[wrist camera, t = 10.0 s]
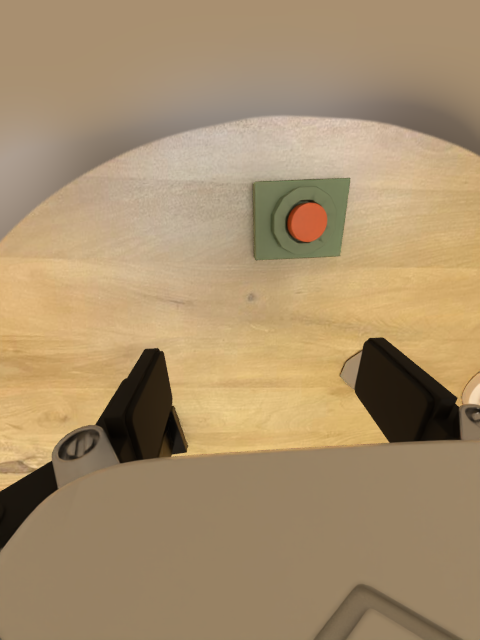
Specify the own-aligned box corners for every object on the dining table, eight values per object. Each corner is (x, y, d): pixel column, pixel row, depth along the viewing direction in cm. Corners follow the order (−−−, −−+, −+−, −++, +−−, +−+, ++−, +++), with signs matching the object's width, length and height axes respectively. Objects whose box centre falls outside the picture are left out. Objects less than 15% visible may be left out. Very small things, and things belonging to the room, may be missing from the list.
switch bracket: (126, 412, 39) (79, 506, 27) (173, 405, 39) (148, 497, 27) (144, 452, 44) (111, 549, 31) (187, 446, 44) (171, 541, 31)
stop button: (286, 240, 26) (290, 242, 24) (287, 203, 24) (292, 203, 23) (319, 239, 26) (325, 241, 24) (323, 202, 24) (329, 201, 23)
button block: (253, 257, 30) (257, 263, 26) (252, 183, 26) (256, 179, 23) (332, 253, 30) (347, 259, 26) (341, 180, 27) (359, 175, 23)
